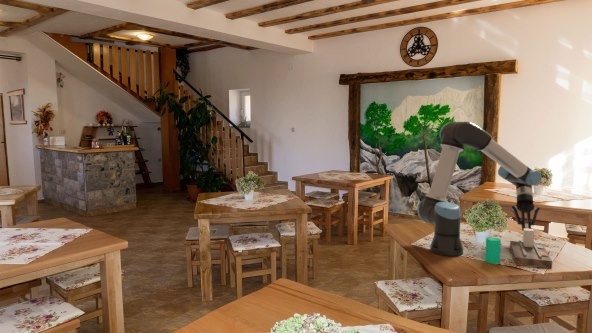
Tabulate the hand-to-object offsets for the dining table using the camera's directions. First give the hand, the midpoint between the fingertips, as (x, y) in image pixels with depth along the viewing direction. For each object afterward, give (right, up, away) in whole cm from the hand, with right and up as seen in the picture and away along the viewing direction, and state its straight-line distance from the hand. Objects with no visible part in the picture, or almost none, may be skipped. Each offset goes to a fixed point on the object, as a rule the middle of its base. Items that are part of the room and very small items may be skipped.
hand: (526, 236), depth 202 cm
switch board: (-5, -8, -10) cm, 14 cm away
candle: (-25, -9, -17) cm, 31 cm away
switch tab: (-2, -4, -5) cm, 7 cm away
